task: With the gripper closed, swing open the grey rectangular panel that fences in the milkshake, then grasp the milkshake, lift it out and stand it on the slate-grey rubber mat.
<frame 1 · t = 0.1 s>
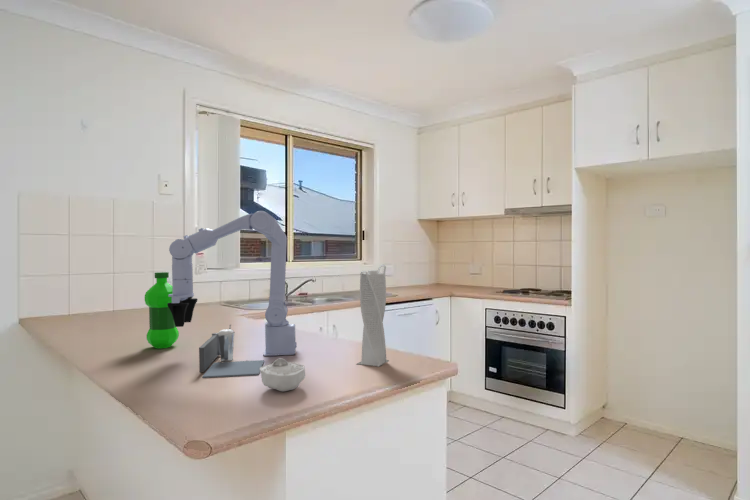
hand: (183, 324, 139), 10 cm above the counter, fingers open, 7 cm apart
grey rectangular panel: (209, 350, 131), point 4 cm above the counter, hinge at 0.0°
plastic bottle: (163, 347, 154), on the counter
mat: (235, 369, 125), on the counter
cell model: (283, 390, 107), on the counter
milkshake: (227, 360, 135), on the counter
skyscraper: (374, 365, 129), on the counter
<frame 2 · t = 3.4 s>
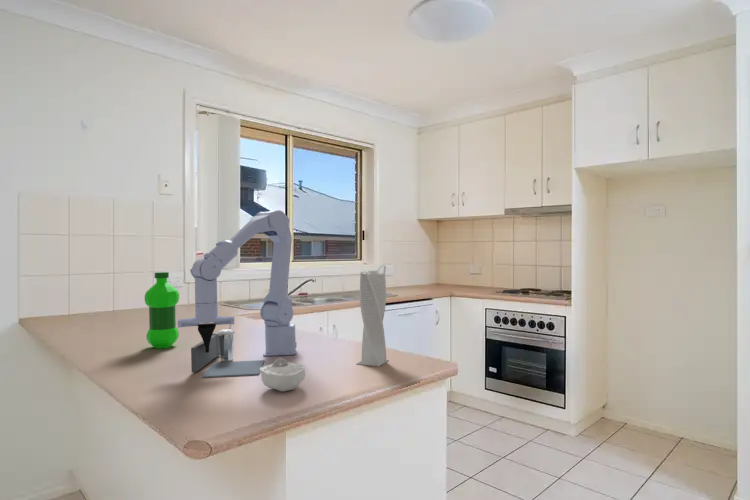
hand: (207, 351, 126), 4 cm above the counter, fingers closed
grey rectangular panel: (206, 351, 131), point 4 cm above the counter, hinge at 6.4°, touching gripper
everything else where it was.
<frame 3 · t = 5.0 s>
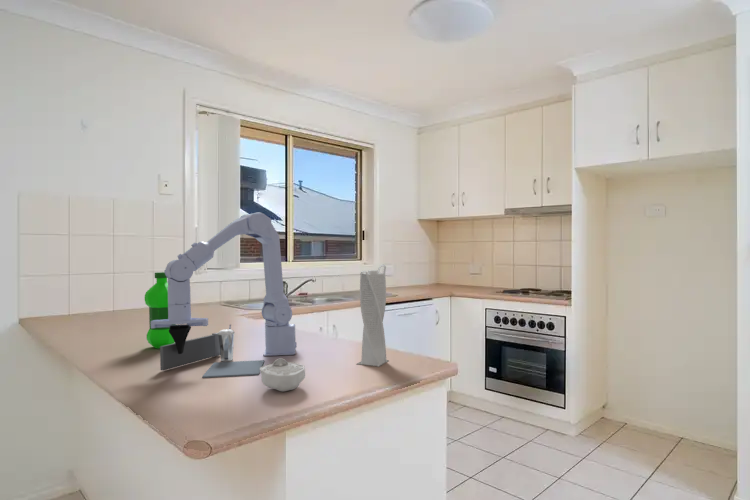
hand: (180, 353, 126), 4 cm above the counter, fingers closed
grey rectangular panel: (192, 350, 132), point 4 cm above the counter, hinge at 36.7°, touching gripper
everything else where it was.
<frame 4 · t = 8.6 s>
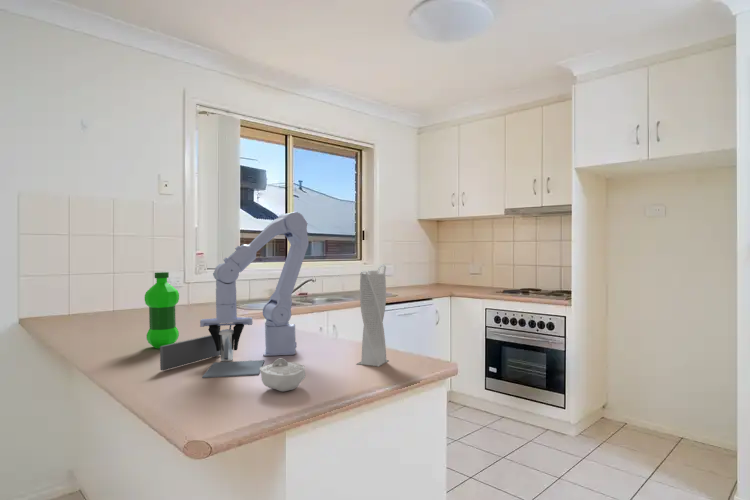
hand: (227, 350, 135), 3 cm above the counter, fingers closed on milkshake, 4 cm apart
grey rectangular panel: (192, 350, 132), point 4 cm above the counter, hinge at 36.8°
milkshake: (227, 360, 135), on the counter, touching gripper
everything else where it was.
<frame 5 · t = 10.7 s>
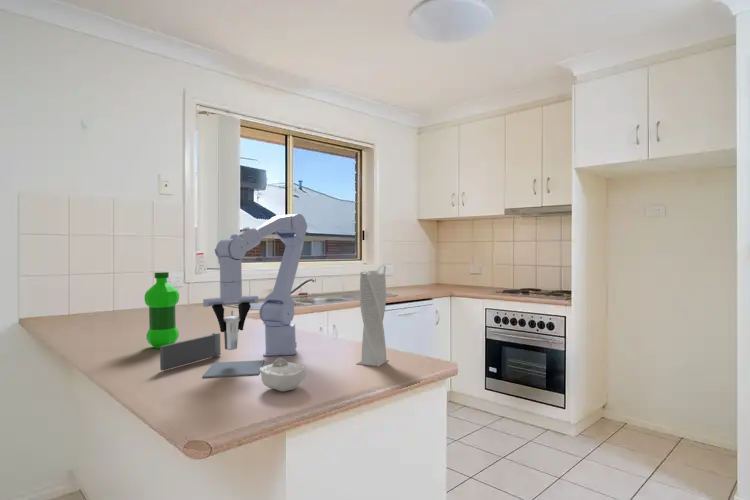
hand: (231, 330, 128), 10 cm above the counter, fingers closed on milkshake, 4 cm apart
milkshake: (231, 348, 129), point 5 cm above the counter, touching gripper
everything else where it was.
when the fingers open (4 cm above the counter, at t = 12.8 s): milkshake stays where it is, resting on mat.
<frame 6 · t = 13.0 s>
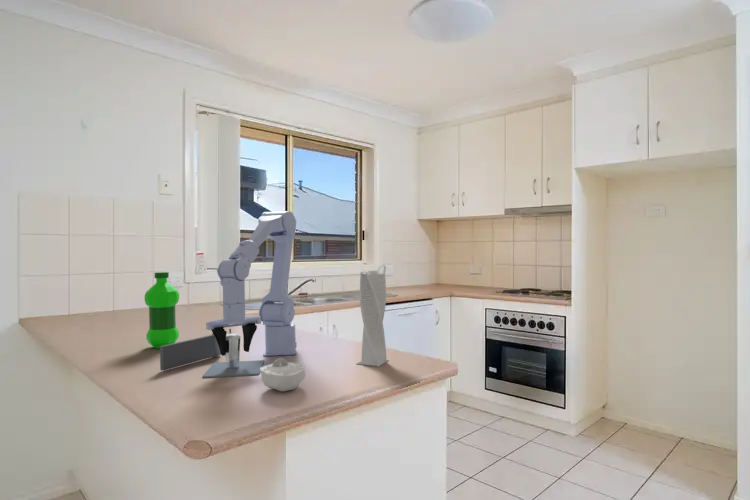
hand: (234, 353, 125), 4 cm above the counter, fingers open, 6 cm apart
milkshake: (232, 367, 126), resting on mat
everything else where it was.
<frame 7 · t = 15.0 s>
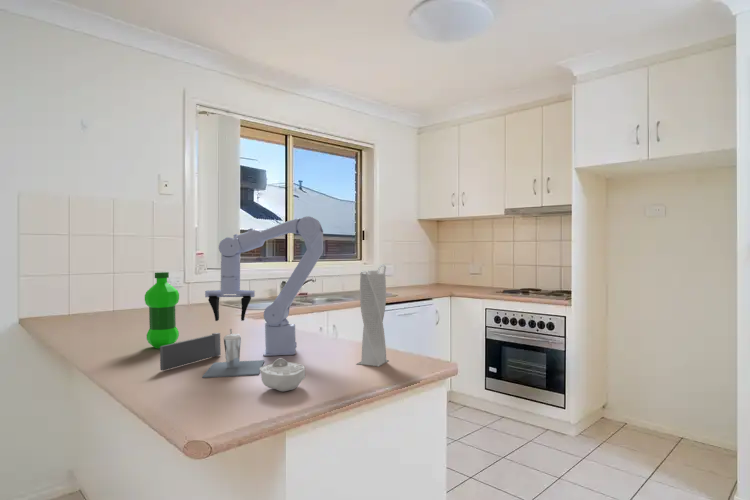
hand: (229, 320, 142), 10 cm above the counter, fingers open, 7 cm apart
nothing on the counter moved.
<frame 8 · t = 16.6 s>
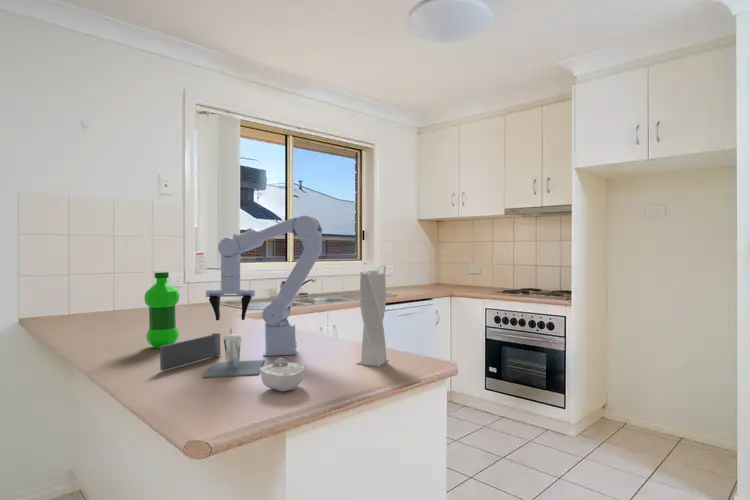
hand: (230, 319, 144), 10 cm above the counter, fingers open, 7 cm apart
nothing on the counter moved.
at the end: grey rectangular panel at +37° (first picture: +0°); milkshake inside the target area on the mat (1.3 cm from its centre), point 0.2 cm above the mat's base; milkshake tilted 0° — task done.
